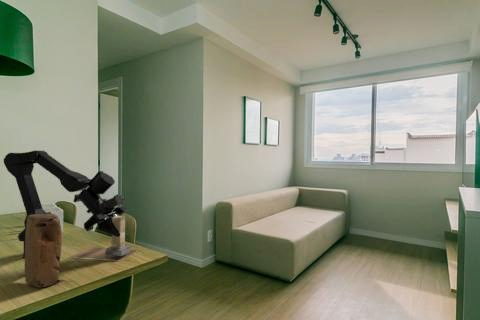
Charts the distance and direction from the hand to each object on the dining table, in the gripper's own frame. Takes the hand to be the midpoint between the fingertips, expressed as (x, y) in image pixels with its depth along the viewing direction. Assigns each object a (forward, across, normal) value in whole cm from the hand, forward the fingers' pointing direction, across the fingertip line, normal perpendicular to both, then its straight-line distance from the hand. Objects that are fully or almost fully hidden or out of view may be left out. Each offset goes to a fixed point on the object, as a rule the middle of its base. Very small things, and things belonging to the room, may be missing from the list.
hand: (122, 234), depth 99 cm
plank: (+1, +2, +12) cm, 12 cm away
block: (-3, -19, +17) cm, 26 cm away
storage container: (-34, +32, +49) cm, 68 cm away
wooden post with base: (+4, 0, +6) cm, 7 cm away
